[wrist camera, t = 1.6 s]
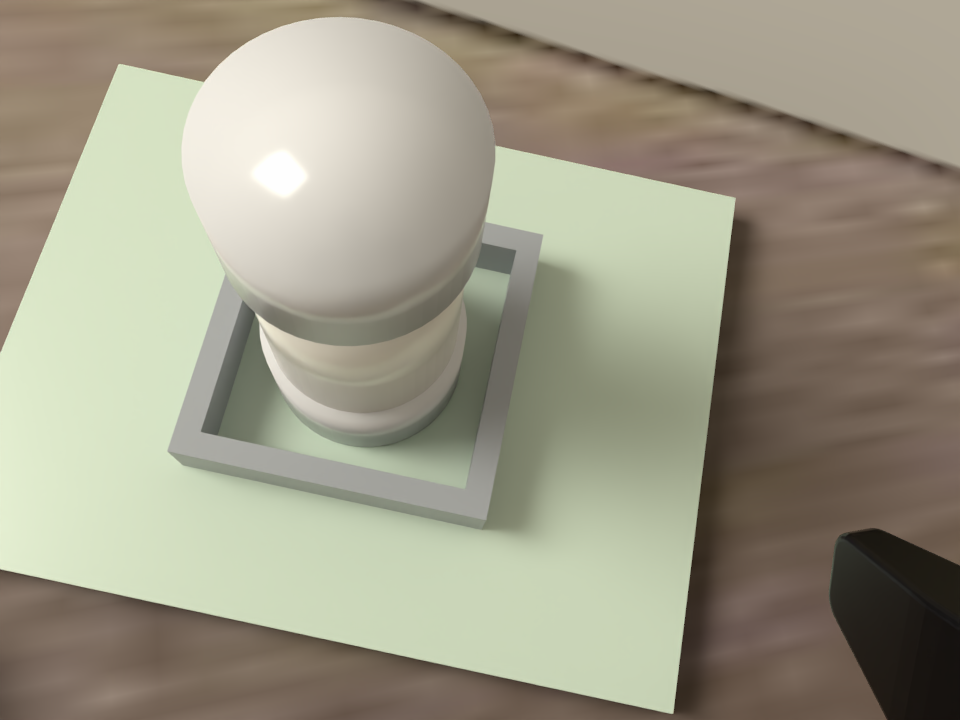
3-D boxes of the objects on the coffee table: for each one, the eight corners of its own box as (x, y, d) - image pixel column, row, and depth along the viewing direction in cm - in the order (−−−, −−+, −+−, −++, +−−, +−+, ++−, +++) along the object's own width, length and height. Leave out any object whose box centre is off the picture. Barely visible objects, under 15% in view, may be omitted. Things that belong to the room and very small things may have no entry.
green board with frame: (724, 214, 27) (754, 170, 24) (662, 712, 22) (692, 717, 20) (129, 85, 27) (102, 28, 24) (-60, 556, 22) (-117, 543, 20)
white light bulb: (477, 293, 24) (521, 52, 15) (439, 465, 22) (460, 318, 13) (302, 255, 24) (233, -11, 15) (252, 424, 22) (138, 249, 13)
